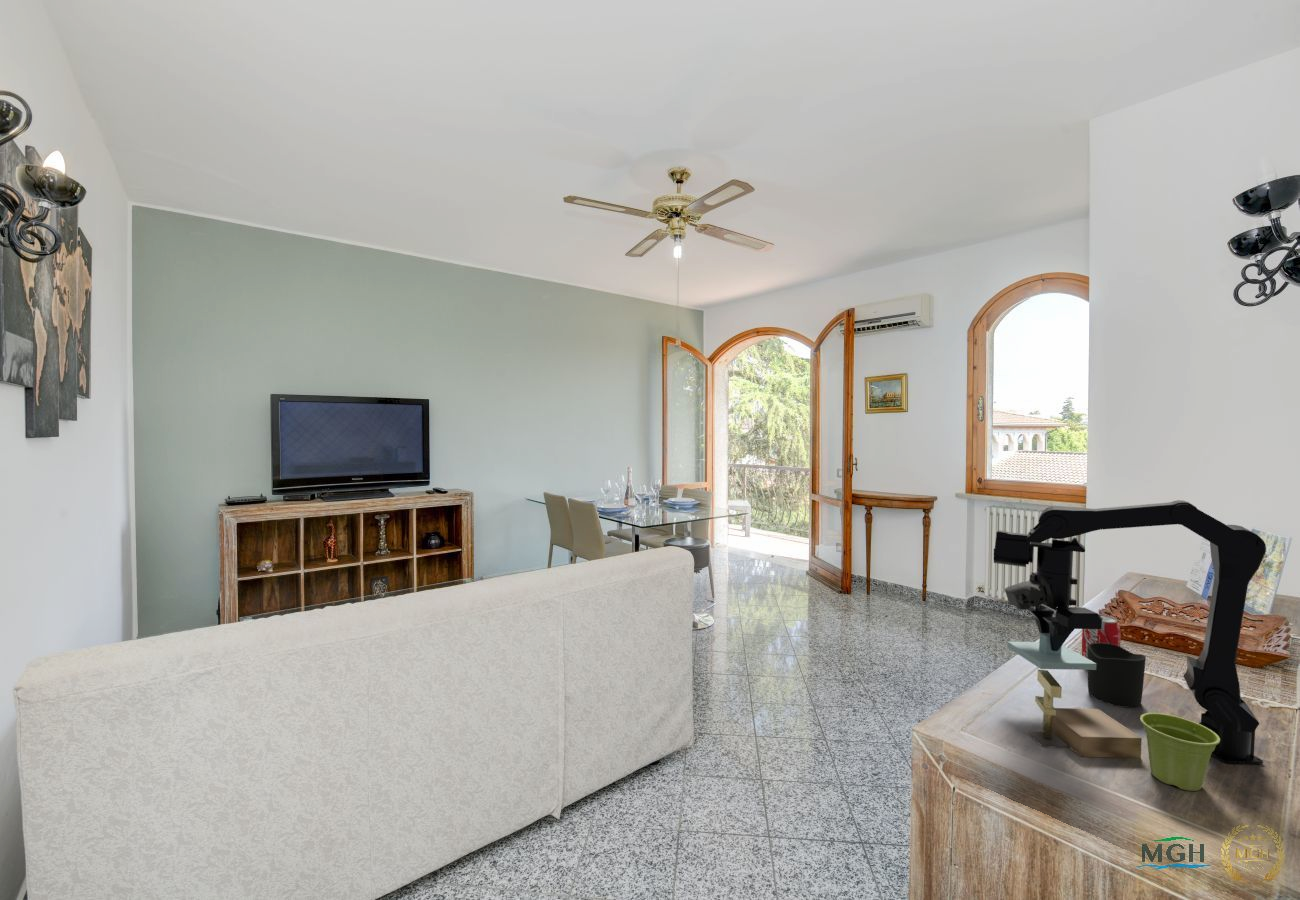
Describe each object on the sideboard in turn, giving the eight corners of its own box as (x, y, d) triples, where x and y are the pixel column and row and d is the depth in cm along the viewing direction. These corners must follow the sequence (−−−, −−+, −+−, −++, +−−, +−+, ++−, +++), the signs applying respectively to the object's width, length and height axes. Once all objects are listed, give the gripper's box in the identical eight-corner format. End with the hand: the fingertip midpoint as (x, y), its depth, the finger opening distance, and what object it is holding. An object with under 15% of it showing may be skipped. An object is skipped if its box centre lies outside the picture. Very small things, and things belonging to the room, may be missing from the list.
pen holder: (1135, 693, 122) (1137, 647, 121) (1150, 713, 113) (1152, 664, 113) (1081, 684, 126) (1083, 639, 126) (1091, 702, 118) (1093, 655, 117)
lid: (1058, 648, 119) (1059, 625, 119) (1096, 669, 108) (1097, 645, 108) (1007, 647, 119) (1008, 625, 119) (1040, 668, 109) (1041, 644, 108)
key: (1034, 725, 108) (1036, 668, 107) (1045, 727, 107) (1047, 669, 107) (1048, 746, 101) (1050, 685, 100) (1060, 748, 100) (1062, 687, 100)
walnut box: (1097, 727, 108) (1098, 708, 108) (1140, 757, 98) (1141, 738, 98) (1018, 725, 109) (1018, 707, 109) (1052, 755, 99) (1053, 736, 99)
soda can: (1073, 663, 137) (1075, 614, 136) (1095, 660, 139) (1096, 611, 138) (1104, 676, 130) (1107, 624, 129) (1126, 672, 132) (1129, 621, 131)
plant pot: (1176, 762, 97) (1178, 712, 97) (1234, 798, 88) (1237, 743, 87) (1122, 762, 97) (1124, 712, 96) (1175, 799, 87) (1178, 744, 87)
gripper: (986, 558, 122) (983, 630, 123) (1044, 583, 104) (1040, 667, 105) (1038, 559, 122) (1035, 631, 123) (1106, 584, 104) (1102, 668, 104)
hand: (1050, 648), depth 114 cm, fingers closed on lid
